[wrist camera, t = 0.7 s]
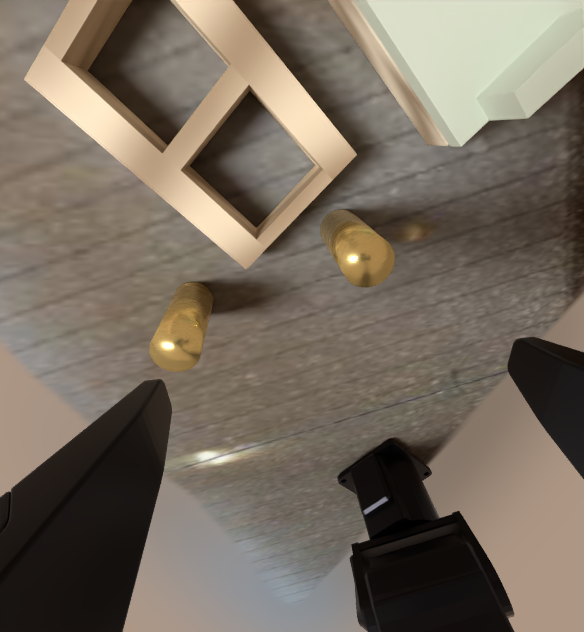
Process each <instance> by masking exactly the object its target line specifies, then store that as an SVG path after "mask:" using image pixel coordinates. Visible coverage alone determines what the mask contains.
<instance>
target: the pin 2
mask: <svg viewBox="0 0 584 632" xmlns="http://www.w3.org/2000/svg"><path fill="white" fill-rule="evenodd" d="M320 234H321V238H322V240H323V242H324V243H325V245H326V246H327V248H328V249H329V251H330V253H331V254H332V256H333V257H334V259H335V261H336V262H337V264H338V265H339V267H340V269H341V270H342V272H343V273H344V275H345V277H346V278H347V279H348V281H349V282H351V283H352V284H354V285H356V286H359V287H372V286H375V285H377V284H379V283H381V282H382V281H384V280H385V279H386V278H387V277H388V276H389V274H390V273H391V271H392V269H393V267H394V263H395V254H394V250H393V248H392V246H391V245H390V244H389V243H388V242H387V241H386V240H385V239H384V238H382V237H381V236H380V235H379V234H378V233H376V232H375V231H374V230H373V229H371V228H370V227H369V226H368V225H367V224H365V223H364V222H363V221H362V220H361V219H359V218H358V217H357V216H356V215H354V214H353V213H352V212H350V211H348V210H344V209H339V210H335V211H333V212H331V213H329V214H328V215H327V216H326V217H325V218H324V220H323V222H322V224H321V228H320Z"/></svg>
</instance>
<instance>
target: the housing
mask: <svg viewBox="0 0 584 632" xmlns="http://www.w3.org/2000/svg"><path fill="white" fill-rule="evenodd" d="M328 2H329V3H330V5H331V6H332V8H333V9H334V10H335V12H336V13H337V15H338V16H339V18H340V19H341V21H342V22H343V23H344V25H345V26H346V28H347V29H348V31H349V32H350V34H351V35H352V36H353V38H354V39H355V41H356V42H357V44H358V45H359V47H360V48H361V49H362V51H363V52H364V54H365V55H366V57H367V58H368V59H369V61H370V62H371V64H372V65H373V67H374V68H375V70H376V71H377V72H378V74H379V75H380V77H381V78H382V80H383V81H384V83H385V84H386V85H387V87H388V88H389V90H390V91H391V93H392V94H393V96H394V97H395V98H396V100H397V101H398V103H399V104H400V106H401V107H402V109H403V110H404V111H405V113H406V114H407V116H408V117H409V119H410V120H411V122H412V123H413V124H414V126H415V127H416V129H417V130H418V132H419V133H420V134H421V136H422V137H423V139H424V140H425V142H426V143H427V145H440V146H448V145H449V144H448V142H447V141H446V139H445V138H444V136H443V135H442V133H441V132H440V130H439V129H438V127H437V125H436V124H435V122H434V121H433V119H432V118H431V116H430V115H429V113H428V112H427V110H426V109H425V107H424V106H423V104H422V103H421V101H420V100H419V98H418V97H417V95H416V94H415V92H414V91H413V89H412V88H411V86H410V85H409V83H408V82H407V80H406V79H405V77H404V76H403V74H402V73H401V71H400V70H399V68H398V67H397V65H396V64H395V62H394V61H393V59H392V57H391V56H390V54H389V53H388V51H387V50H386V48H385V47H384V45H383V44H382V42H381V41H380V39H379V38H378V36H377V35H376V33H375V32H374V30H373V29H372V27H371V26H370V24H369V23H368V21H367V20H366V18H365V17H364V15H363V14H362V12H361V11H360V9H359V8H358V6H357V5H356V3H355V2H354V0H328Z"/></svg>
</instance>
